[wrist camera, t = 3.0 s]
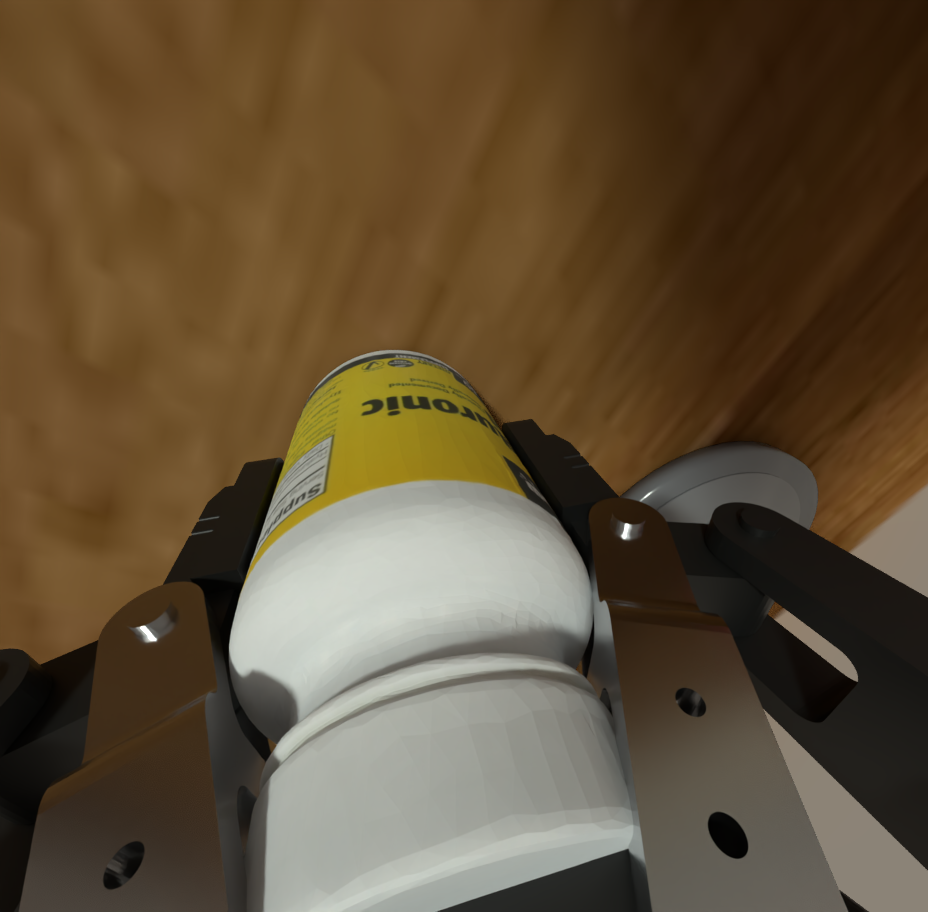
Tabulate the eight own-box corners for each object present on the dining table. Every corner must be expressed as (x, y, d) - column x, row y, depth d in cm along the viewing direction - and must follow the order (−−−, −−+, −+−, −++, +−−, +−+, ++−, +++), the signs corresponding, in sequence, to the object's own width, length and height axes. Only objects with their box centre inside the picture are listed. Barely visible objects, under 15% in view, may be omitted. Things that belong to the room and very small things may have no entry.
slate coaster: (588, 467, 14) (601, 481, 13) (843, 421, 16) (867, 432, 15) (563, 645, 20) (571, 662, 19) (751, 599, 21) (765, 612, 21)
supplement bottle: (518, 408, 12) (832, 803, 4) (418, 527, 14) (497, 980, 6) (364, 299, 10) (364, 770, 1) (264, 460, 11) (0, 1109, 3)
